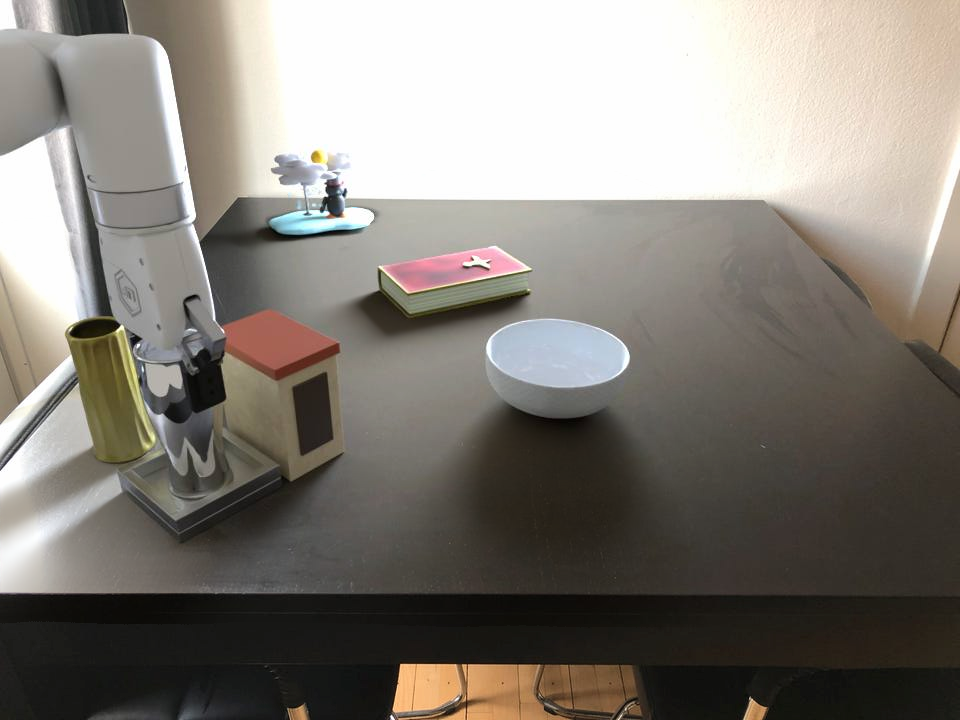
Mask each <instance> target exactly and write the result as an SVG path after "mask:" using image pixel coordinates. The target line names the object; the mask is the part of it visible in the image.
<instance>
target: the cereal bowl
mask: <svg viewBox="0 0 960 720" xmlns="http://www.w3.org/2000/svg"><path fill="white" fill-rule="evenodd" d="M484 358H485V360H484V362H485V369H486V371H485V372H486V375H487V379H488V381H489V384H490V385H491V387H492V389H493V390H494V392H495V393H496V394H497V395H498V396H499V397H500V398H501V399H502V400H503V401H505V402H506V404H508V405H510V406H512V407H514V408H515V409H517V410H520V411H522V412H525V413H527V414H529V415H533V416H538V417H541V418H542V417H543V418H547V419H554V420H555V419H575V418H581V417H586V416H589V415H593V414H595V413H598V412H599V411H601V410H604V409H605V408H606V407H608V406H609V405H610V404H612V403H613V402H614V401H615V400H616V399H617V398H618V397H619V395H620V394H621V393H622V391H623V389H624V386H625V385H626V382H627V379H628V376H629V370H630V364H631V357H630V353H629V349H628V348H627V346H626V345H625V344H624V343H623V341H622V340H620V339H619V338H617V337H616V336H615V335H613V334H611V333H610V332H608V331H606V330H604V329H601V328H599V327H596V326H593V325H590V324H586V323H582V322H578V321H573V320H567V319H558V318H557V319H556V318H539V319H538V318H537V319H528V320H522V321H518V322H515V323H511V324H508V325H505V326H504V327H502V328H500V329H498V330H497V331H496V332H494V333H493V334H491V336H490V337H489V338H488V340H487V343H486V346H485V354H484Z"/></svg>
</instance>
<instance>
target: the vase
mask: <svg viewBox="0 0 960 720" xmlns="http://www.w3.org/2000/svg"><path fill="white" fill-rule="evenodd" d="M64 337H65V339H66V341H67V344H68V347H69V350H70V351H69V352H70V354H71V355H70V356H71V358H72V362H73V366H74V370H75V373H76V377H77V381H78V387H79V394H80V398H81V403H82V408H83V410H84V413H85V414H84V415H85V418H86V419H85V420H86V422H87V427H88V430H89V433H90V437H91V441H92V448H93V452H92V453H93V455H94V457H95V458H96V459H98V460H99V461H101V462H104V463H109V464H110V463H111V464H119V463H126V462H130V461H134V460H137V459H138V458H141V457H142V456H144V455H146V454H147V453H148V452H149V451H151V450H152V448H153V447H154V446H155V443H156V435H155V432H154V429H153V426H152V424H151V422H150V420H149V418H148V415H147V413H146V410H145V408H144V405H143V401H142V398H141V394H140V390H139V385H138V380H137V373H136V366H135V362H134V360H133V357H132V356H133V355H132V352H131V349H130V345H129V342H128V338H127V334H126V329H125V327H124V326H122V325H121V324H120V323H118V322H117V320H116V319H115V318H114V316H107V315H106V316H102V315H101V316H93V317H87V318H84V319H82V320H78V321H76V322H74V323H72V324H71V325H69V326H68V327H67V329H65V331H64Z"/></svg>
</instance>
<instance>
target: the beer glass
mask: <svg viewBox="0 0 960 720" xmlns="http://www.w3.org/2000/svg"><path fill="white" fill-rule="evenodd" d="M196 332H198V331H197V330H196V329H194V328H191V329H188V330H185V331H184V335H183V337H185V336H188V335H191V334H194V333H196ZM188 346H189V348H190V350H191V352H192V354H193V356H194V358H195V356H196V355H197V353H198V352H199V350H201V349H203V347H204V346H203V344H202V342H201V340H200V341H198V342H195V343H192V344H190V345H188ZM133 354H134V356H133V359H134V358H135V360H134V367H135V371H136V374H137V380H138V385H139V390H140V394H141V398H142V401H143V405H144V408H145V410H146V413H147V415H148V418H149V420H150V423H151V427H152V429H153V431H154V433H155V434H156V436H157V439H158V440H159V443H160V445H161V448H163V449H164V452H165V455H166V460H167V483H168V488H169V490H170V491H171V492H172V493H173V494H175V495H177V496H179V497H183V498H200V497H205V496H208V495H210V494H212V493H214V492H216V491H218V490H220V489H222V488H223V487H225V486H226V485H227V484H228V483H229V482H230V480H231V479H232V476H233V470H232V467H231V464H230V462H229V460H228V458H227V456H226V453H225V450H224V446H223V438H222V426H223V424H224V404H223V402H222V403H220V404H218V405H215V406H213V407H211V408H209V409H206V410H204V411H202V412H199V413H194V412H193V411H191V409H190V404H189V399H188V395H187V390H186V385H185V380H184V375H183V372H186V371H188V370H187V368H186V366H185V364H184V362H183V360H182V358H181V356H180V354H179V352H178V350H177V348H176V346H175V347H173V349H172V350H169V351H166V350H162V349H160V348H158V347H156V346H154V345H152V344H151V343H149V342H147V341H146V340H144V339H141V340H140V341H139V342H137V344H136V345H135V346H134V348H133V352H132V355H133ZM223 427H224V426H223Z"/></svg>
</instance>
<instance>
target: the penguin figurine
mask: <svg viewBox="0 0 960 720" xmlns="http://www.w3.org/2000/svg"><path fill="white" fill-rule="evenodd" d="M353 158H354V156H353V153H351V152H349V151H329V152H326V151H324V150H322V149H316V150H314V151H313V152H312V153H311V155H310V160H311V163H309V161H308V160H306V159H305V157H303V158H302V156H301V152H300V154H299V153H283V154H282V153H281V154H277V155H275V157H274V158H273V160H274V162H275V163H276V164H278V166H274V167H271V168H270V171H271V173H272V174H274V175H278V176H279V177H278V181H279V184H280V185H282V186H296V185H299V184H300V186H302V187H303V188H301V189H300V191H303V193H302V194H303V195H304V202H305V203H304V206H305V210H302V208H303V203H302V202H303V200H302V201H301V200H300V199H298V200H297V205H298V206H297V207H296V209H297V210H299V211H293V212H289V213H286V214H284V215H280V216H277V217H274V218H271V219H270V220H269V221H268V225H269V226H270V227H271V228H272V229H273V230H274V231H276V232H277V233H279V234H282V235H289V236H290V235H291V236H303V235H312V234H318V233H324V232H329V231H338V230H339V231H340V230H342V231H343V230H356V229H361V228H364V227H367V226H369V225H370V223H371V222H372V221H373V220H374V218H375V216H374V213H373V212H371V211H370V210H369V209H365V208H362V207H346V200H347V195H348V192H349V189H348V188H346V187H344V186H343V185H344V184H345V182H344V181H342V173H341V172H340V171H338V170H343V171H345V170H352V169H355V162H354V161H353V160H352V159H353ZM319 179H321V180H326V182H324V183H323V184H324V185H325V188H324V192H325V193H326V195H324V196H323V197H322V201H321V203H318V208H319V210H316V209H315V210H314V209H313V210H312V209H311V210H310V208H309V207H310V206H312V207H313V208H315V207H317V203H315V202H313V203H311V205H310V203H309V201H310V198H308V196H311V195H313V193H316V192H317V194H319V195H321V194H322V191H321V190H320V189H318V191H317V188H315V186H314V185H317V184H318V183H319V181H320V180H319ZM310 186H313V188H312V191H313V193H311V190H310V188H309V189H308V188H307V187H310ZM287 196H288V197H289V199H291V197H293V194H292V193H289V194H287ZM326 210H327V211H326Z"/></svg>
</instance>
